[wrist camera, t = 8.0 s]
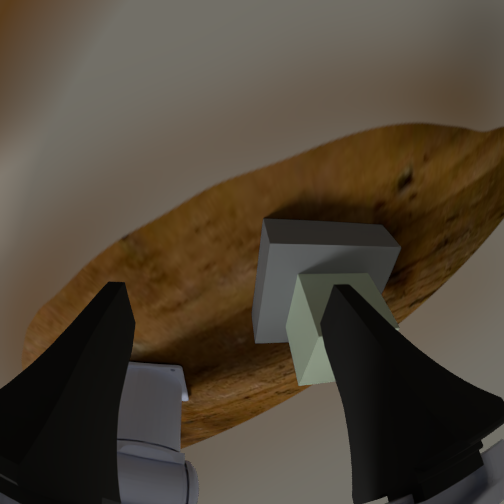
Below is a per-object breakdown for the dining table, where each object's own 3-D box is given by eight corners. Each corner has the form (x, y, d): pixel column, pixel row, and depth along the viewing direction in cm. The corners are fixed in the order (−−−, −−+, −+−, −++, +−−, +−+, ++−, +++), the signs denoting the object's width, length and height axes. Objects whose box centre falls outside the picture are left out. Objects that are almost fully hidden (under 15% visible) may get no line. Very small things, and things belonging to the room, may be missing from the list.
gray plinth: (251, 315, 24) (255, 343, 21) (263, 218, 18) (269, 243, 16) (349, 311, 25) (360, 336, 22) (382, 224, 20) (401, 247, 17)
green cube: (285, 327, 20) (298, 385, 16) (297, 273, 18) (318, 336, 13) (347, 323, 21) (368, 375, 17) (367, 272, 18) (399, 327, 14)
